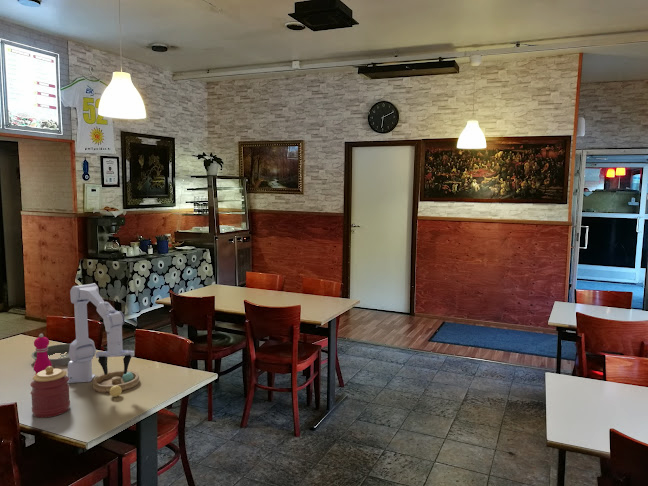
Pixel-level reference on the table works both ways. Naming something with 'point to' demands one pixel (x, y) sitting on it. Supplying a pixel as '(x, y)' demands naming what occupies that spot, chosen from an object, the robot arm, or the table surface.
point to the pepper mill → (41, 354)
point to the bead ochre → (115, 391)
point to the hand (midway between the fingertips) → (115, 373)
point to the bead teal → (127, 377)
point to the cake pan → (57, 349)
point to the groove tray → (114, 381)
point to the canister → (50, 392)
